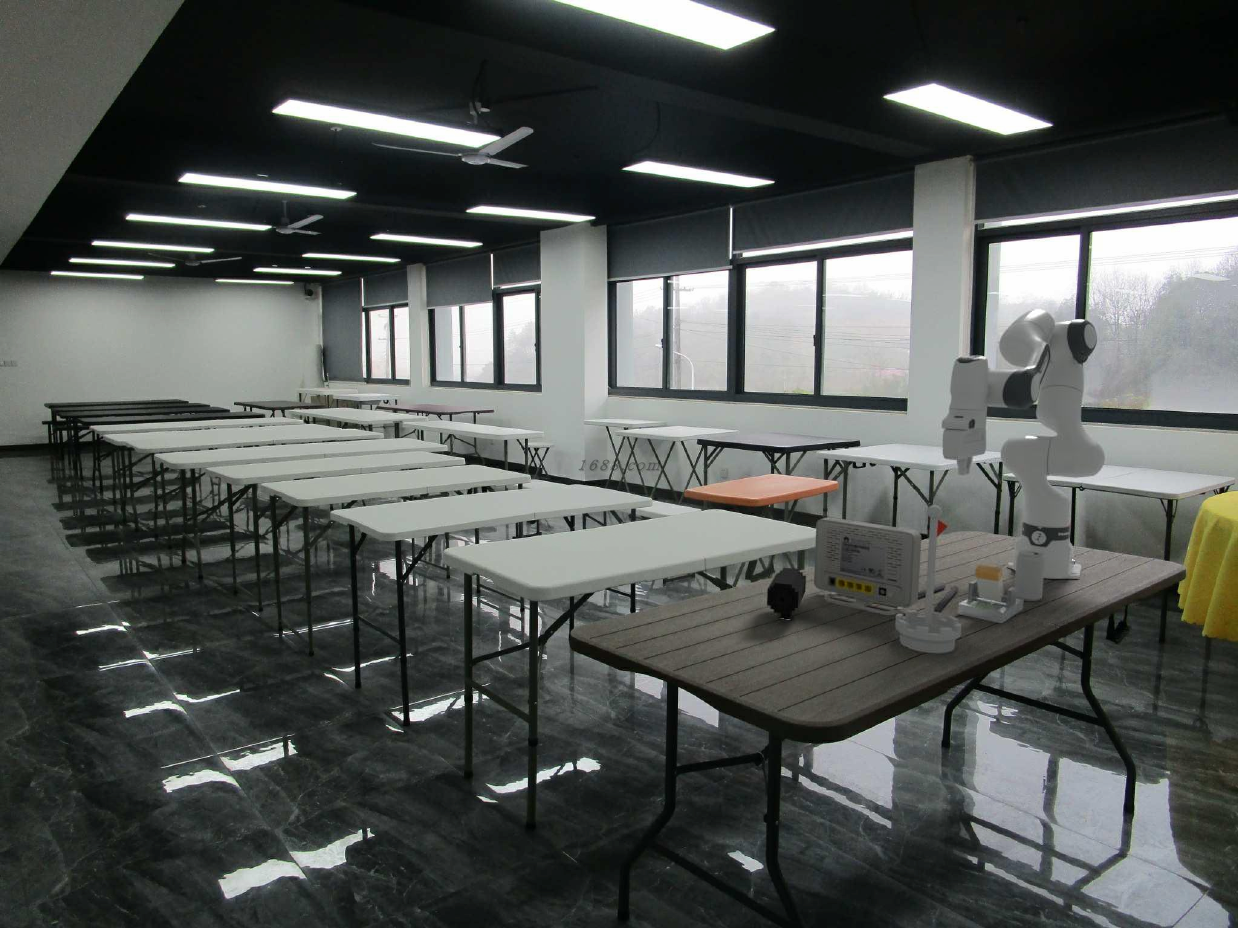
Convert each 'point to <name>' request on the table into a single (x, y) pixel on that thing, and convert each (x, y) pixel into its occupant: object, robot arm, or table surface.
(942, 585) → the cord
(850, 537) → the network device
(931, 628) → the flag stand
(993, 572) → the breaker lever
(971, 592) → the breaker panel
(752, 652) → the table surface
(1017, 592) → the beverage can
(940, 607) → the dark grey rod
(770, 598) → the security camera
